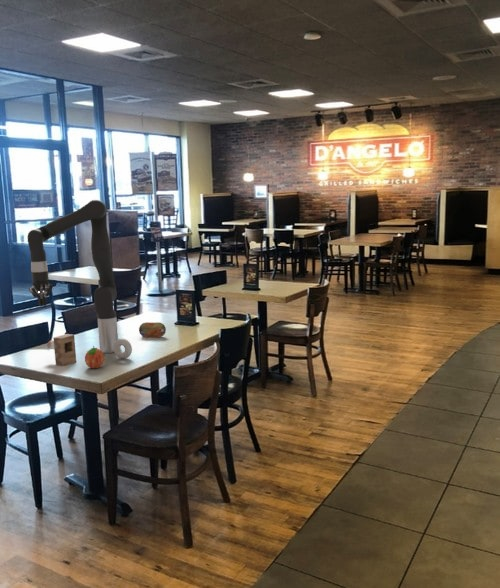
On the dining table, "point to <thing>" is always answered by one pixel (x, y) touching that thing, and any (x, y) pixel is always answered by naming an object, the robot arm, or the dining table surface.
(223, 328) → the dining table surface
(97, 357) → the fruit
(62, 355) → the wooden block
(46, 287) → the robot arm
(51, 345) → the peg
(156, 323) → the tin
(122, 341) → the donut
